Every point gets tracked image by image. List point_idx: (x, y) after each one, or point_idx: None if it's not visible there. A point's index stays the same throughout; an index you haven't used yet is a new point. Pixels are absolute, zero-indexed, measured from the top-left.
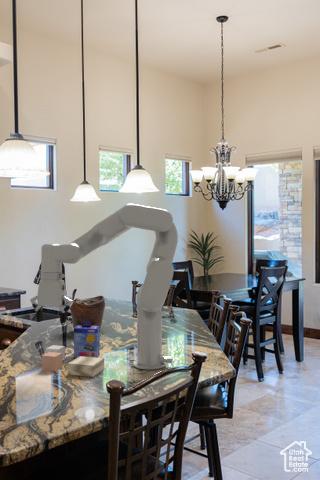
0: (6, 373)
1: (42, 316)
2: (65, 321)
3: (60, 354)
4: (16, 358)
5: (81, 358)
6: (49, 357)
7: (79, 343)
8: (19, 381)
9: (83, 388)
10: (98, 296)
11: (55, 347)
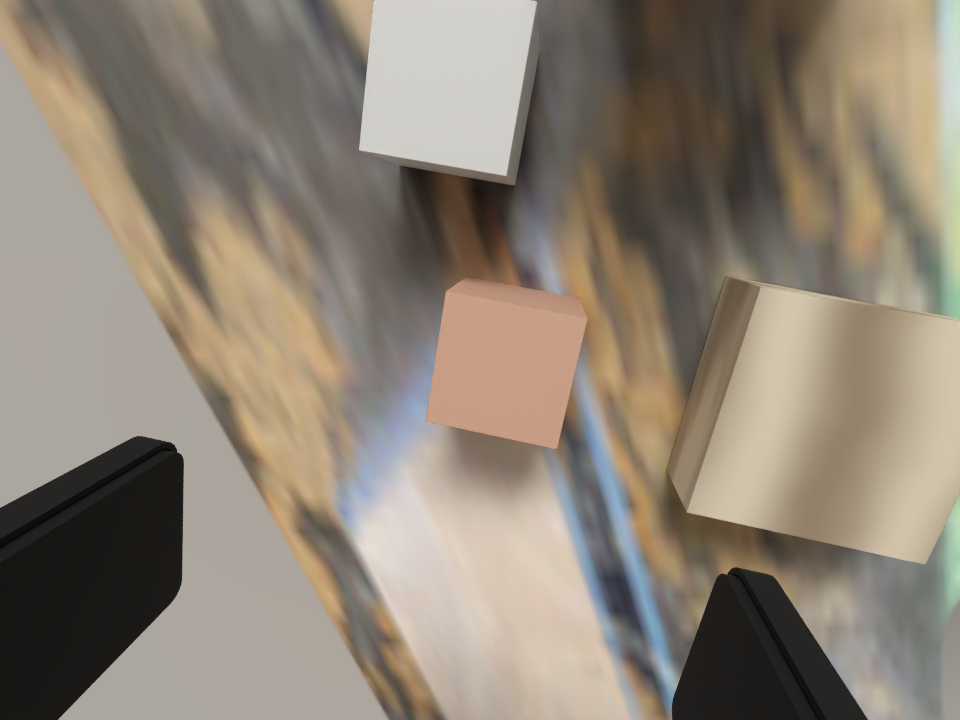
0: (254, 464)
1: (108, 504)
2: (769, 588)
3: (578, 350)
4: (119, 82)
5: (788, 361)
6: (501, 433)
7: None
8: (402, 600)
9: None
10: None
11: (447, 91)
